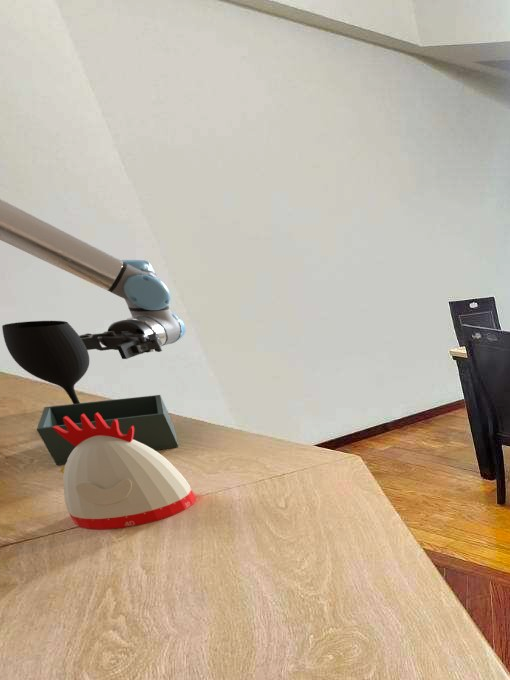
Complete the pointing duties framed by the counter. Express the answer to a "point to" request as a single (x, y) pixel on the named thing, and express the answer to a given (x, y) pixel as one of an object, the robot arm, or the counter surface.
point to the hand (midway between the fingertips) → (81, 353)
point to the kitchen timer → (118, 478)
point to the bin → (110, 422)
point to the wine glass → (48, 352)
